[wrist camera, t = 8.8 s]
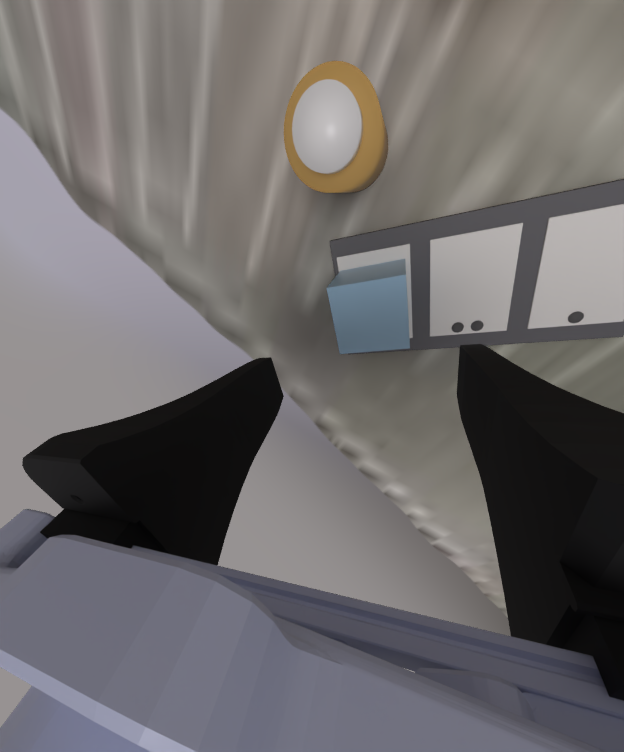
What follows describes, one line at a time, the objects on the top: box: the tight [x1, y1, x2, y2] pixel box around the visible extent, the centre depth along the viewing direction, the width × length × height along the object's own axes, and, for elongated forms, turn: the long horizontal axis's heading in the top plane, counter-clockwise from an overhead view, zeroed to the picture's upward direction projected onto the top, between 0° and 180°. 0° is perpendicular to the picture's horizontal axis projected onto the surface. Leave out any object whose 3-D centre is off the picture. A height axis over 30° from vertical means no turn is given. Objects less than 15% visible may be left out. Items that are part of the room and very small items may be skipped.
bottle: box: [284, 61, 388, 193], centre depth 12 cm, size 4×4×7 cm
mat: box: [330, 179, 624, 354], centre depth 17 cm, size 8×16×1 cm, turn 102°
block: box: [327, 259, 410, 354], centre depth 17 cm, size 4×4×4 cm
